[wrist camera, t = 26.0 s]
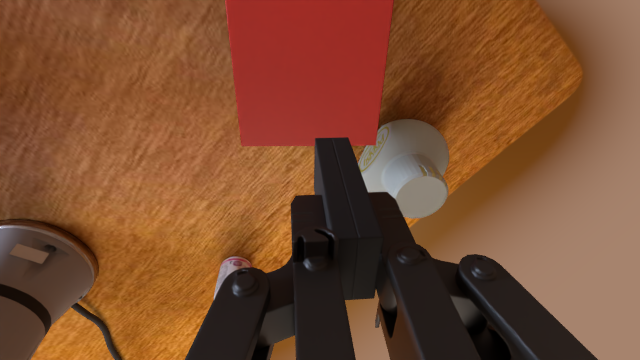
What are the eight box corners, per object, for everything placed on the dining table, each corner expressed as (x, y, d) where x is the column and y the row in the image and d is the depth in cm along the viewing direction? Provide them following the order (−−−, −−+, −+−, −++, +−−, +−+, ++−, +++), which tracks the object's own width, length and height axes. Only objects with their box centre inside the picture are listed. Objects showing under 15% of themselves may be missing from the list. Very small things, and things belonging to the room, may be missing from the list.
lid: (398, -57, 24) (401, -57, 24) (374, 142, 33) (376, 145, 32) (219, -62, 24) (217, -63, 23) (242, 142, 32) (241, 146, 32)
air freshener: (396, 194, 48) (419, 246, 39) (345, 172, 45) (358, 222, 37) (448, 129, 43) (487, 172, 34) (393, 99, 40) (422, 138, 32)
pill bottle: (258, 263, 53) (254, 311, 46) (241, 281, 55) (234, 330, 48) (231, 250, 51) (222, 298, 44) (214, 269, 53) (203, 318, 46)
